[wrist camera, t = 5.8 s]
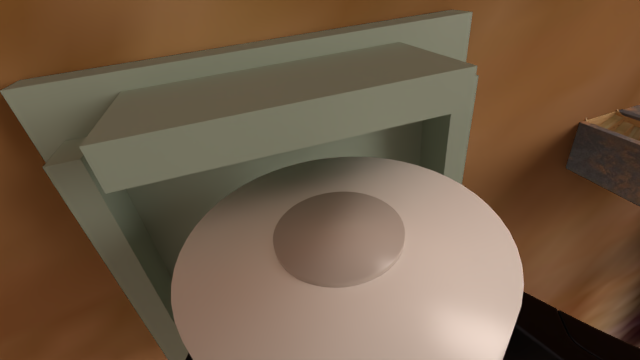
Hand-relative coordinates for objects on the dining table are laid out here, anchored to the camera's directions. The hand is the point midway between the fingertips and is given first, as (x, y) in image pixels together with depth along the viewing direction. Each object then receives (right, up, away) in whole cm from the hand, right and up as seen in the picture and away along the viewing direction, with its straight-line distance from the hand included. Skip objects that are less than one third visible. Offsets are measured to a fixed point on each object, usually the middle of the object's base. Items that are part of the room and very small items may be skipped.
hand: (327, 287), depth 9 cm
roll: (0, +1, +1) cm, 1 cm away
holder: (-1, +2, +4) cm, 5 cm away
